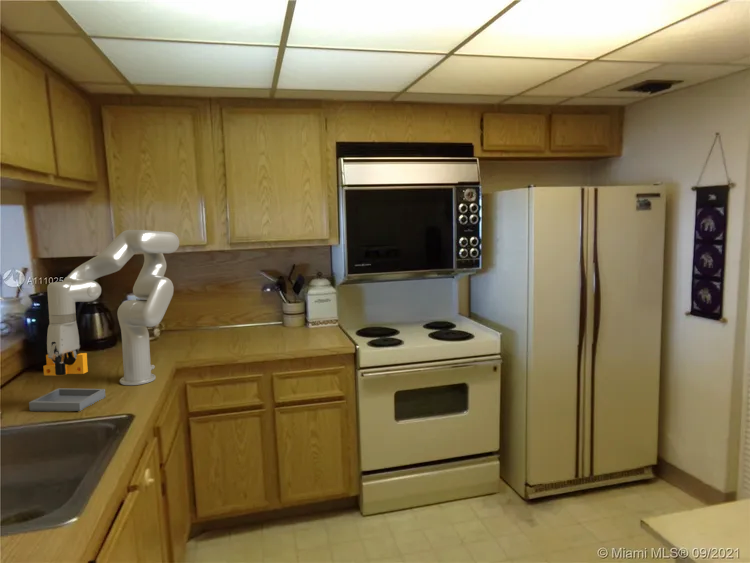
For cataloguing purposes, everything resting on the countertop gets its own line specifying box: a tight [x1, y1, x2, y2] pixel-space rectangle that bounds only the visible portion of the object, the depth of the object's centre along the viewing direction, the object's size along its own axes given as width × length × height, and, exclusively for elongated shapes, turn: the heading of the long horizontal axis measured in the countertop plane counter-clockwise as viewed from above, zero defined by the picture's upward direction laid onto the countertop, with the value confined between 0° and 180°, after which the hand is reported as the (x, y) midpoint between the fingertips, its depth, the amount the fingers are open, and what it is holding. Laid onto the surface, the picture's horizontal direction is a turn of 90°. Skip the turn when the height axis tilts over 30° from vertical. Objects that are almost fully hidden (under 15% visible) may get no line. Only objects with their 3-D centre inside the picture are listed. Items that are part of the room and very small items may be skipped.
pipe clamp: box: [43, 352, 89, 376], centre depth 167 cm, size 12×4×6 cm, turn 91°
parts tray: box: [28, 387, 106, 412], centre depth 169 cm, size 14×17×3 cm
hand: (66, 371), depth 168 cm, fingers closed on pipe clamp, 4 cm apart
